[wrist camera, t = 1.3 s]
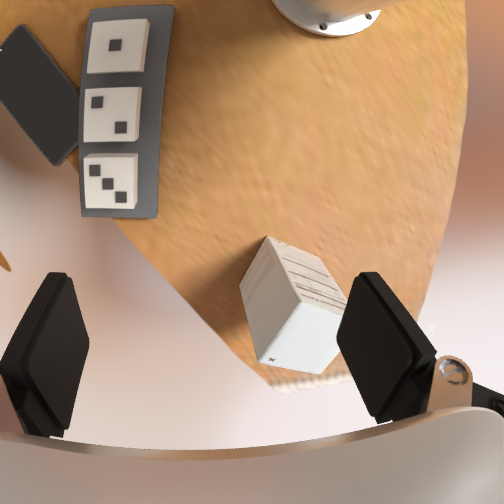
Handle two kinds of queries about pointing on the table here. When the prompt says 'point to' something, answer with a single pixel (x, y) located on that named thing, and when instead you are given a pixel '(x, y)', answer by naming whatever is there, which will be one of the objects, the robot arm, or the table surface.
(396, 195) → the table surface
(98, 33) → the tile one
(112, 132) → the tile two
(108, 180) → the tile three
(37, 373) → the robot arm
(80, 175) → the button board
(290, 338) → the supplement box
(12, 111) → the smartphone
